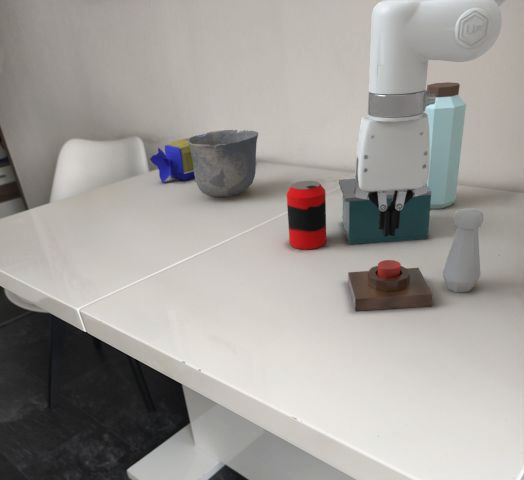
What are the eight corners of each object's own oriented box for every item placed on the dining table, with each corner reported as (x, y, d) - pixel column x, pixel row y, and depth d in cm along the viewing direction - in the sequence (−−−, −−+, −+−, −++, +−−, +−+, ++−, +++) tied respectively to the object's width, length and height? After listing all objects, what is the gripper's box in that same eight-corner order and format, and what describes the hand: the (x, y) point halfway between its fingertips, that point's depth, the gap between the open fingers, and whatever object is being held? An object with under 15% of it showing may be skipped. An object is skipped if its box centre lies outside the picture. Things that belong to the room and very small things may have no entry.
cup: (253, 181, 153) (248, 125, 145) (270, 198, 139) (266, 137, 130) (192, 191, 150) (183, 134, 142) (202, 209, 135) (193, 147, 127)
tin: (349, 244, 109) (349, 201, 104) (342, 223, 119) (342, 183, 115) (427, 239, 108) (431, 195, 103) (413, 217, 118) (416, 177, 114)
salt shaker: (461, 298, 86) (472, 219, 79) (433, 286, 90) (441, 211, 83) (485, 287, 89) (497, 210, 82) (457, 276, 93) (466, 202, 86)
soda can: (303, 253, 107) (301, 193, 100) (282, 242, 112) (278, 185, 106) (333, 243, 110) (333, 184, 103) (311, 233, 116) (309, 177, 109)
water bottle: (448, 212, 119) (461, 88, 106) (404, 207, 124) (411, 88, 111) (460, 198, 126) (474, 80, 113) (418, 194, 131) (426, 81, 118)
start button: (397, 269, 89) (398, 259, 88) (402, 278, 86) (402, 268, 85) (375, 270, 89) (376, 260, 88) (379, 279, 86) (379, 269, 85)
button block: (417, 279, 93) (419, 257, 91) (431, 306, 85) (434, 283, 83) (348, 283, 94) (348, 262, 92) (355, 311, 86) (355, 288, 83)
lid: (345, 201, 104) (345, 197, 104) (338, 183, 115) (338, 179, 114) (431, 195, 103) (431, 190, 103) (416, 177, 114) (417, 173, 113)
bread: (238, 166, 169) (234, 132, 163) (171, 186, 156) (165, 149, 151) (219, 162, 176) (215, 129, 170) (153, 181, 163) (147, 145, 157)
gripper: (443, 97, 77) (430, 222, 86) (338, 104, 77) (337, 227, 87) (459, 106, 70) (442, 239, 80) (343, 114, 71) (342, 245, 81)
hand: (387, 233), depth 84 cm, fingers closed
